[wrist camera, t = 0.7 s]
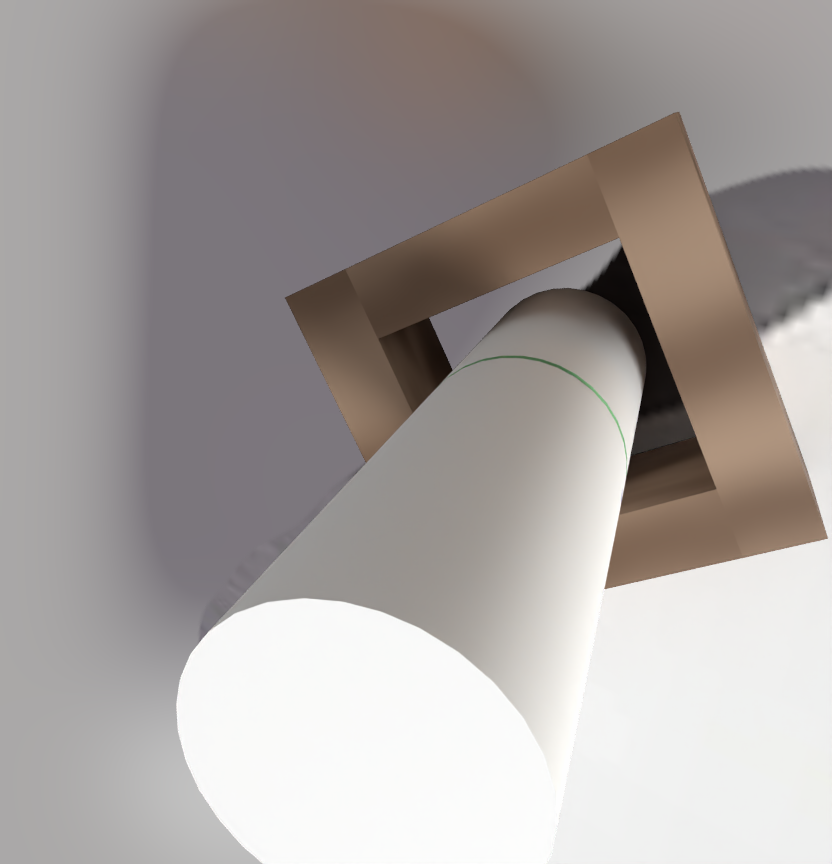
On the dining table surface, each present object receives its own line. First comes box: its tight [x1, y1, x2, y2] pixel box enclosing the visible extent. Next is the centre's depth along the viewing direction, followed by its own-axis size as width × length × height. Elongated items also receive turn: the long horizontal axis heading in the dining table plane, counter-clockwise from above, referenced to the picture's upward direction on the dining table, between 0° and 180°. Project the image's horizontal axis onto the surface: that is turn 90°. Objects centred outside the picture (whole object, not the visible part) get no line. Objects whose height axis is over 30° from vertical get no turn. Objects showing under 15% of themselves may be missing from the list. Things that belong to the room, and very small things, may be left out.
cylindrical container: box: [176, 288, 646, 864], centre depth 25 cm, size 7×7×25 cm
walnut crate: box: [285, 112, 828, 589], centre depth 33 cm, size 16×16×6 cm
